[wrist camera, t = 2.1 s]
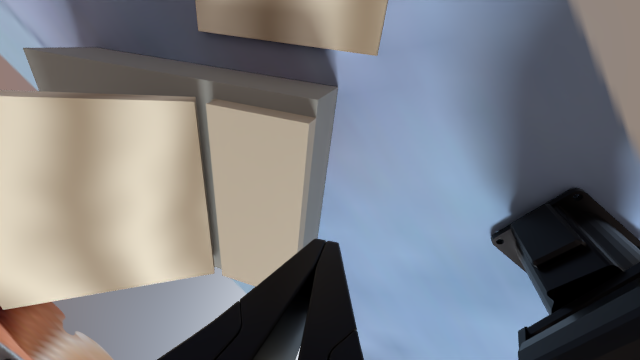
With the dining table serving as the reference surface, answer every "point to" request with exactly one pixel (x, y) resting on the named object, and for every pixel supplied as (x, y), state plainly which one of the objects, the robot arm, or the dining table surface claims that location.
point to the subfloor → (228, 145)
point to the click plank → (99, 194)
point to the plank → (298, 22)
